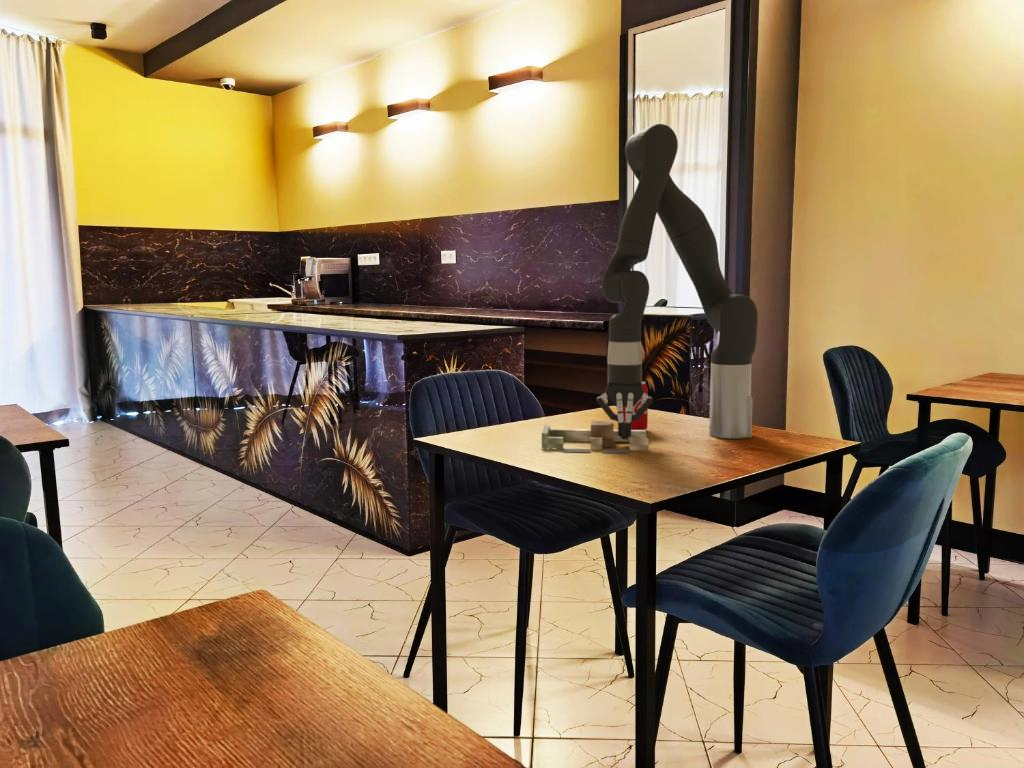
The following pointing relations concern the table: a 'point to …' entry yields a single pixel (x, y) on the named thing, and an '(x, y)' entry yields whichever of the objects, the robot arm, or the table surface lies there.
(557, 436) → the lane
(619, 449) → the trap pads
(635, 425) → the beverage can
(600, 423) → the block
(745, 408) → the robot arm
